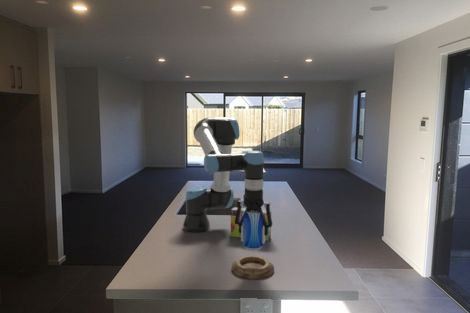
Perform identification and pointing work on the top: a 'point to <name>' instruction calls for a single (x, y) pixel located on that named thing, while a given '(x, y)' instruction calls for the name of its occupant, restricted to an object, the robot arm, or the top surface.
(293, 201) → the top surface
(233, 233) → the snack box
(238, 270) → the round brown bowl
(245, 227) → the beer can
